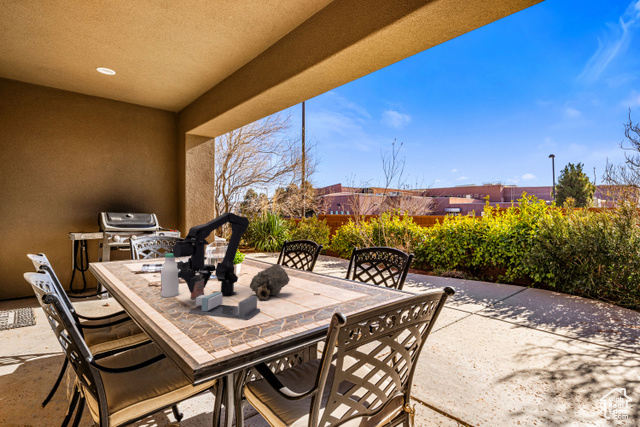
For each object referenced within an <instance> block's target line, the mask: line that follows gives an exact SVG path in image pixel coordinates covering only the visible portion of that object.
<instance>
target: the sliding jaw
mask: <svg viewBox="0 0 640 427" xmlns="http://www.w3.org/2000/svg"><path fill="white" fill-rule="evenodd" d="M195 305H196V306H199V305H202V311H209V310H211V309H213V308H215V307H217V306H219V305H223V295H222V292H221V291H215V292H213V293H211V294H208V295H207V294H204V295H201V296H198V297H196V300H195Z"/></svg>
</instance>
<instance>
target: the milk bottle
mask: <svg viewBox="0 0 640 427" xmlns="http://www.w3.org/2000/svg"><path fill="white" fill-rule="evenodd" d="M162 265H163V266H162V267H161V270H160V272H161V273H160V296H161V297H163V298H172V297H177V296H178V295H179V292H180V291H179V289H180V288H179V287H180V286H179V284H180V283H179V282H180V278H178V272H179V271H180V269H178V268H177V262H176V258H175V257H174V255H173V252H170V253H169V252H168V253H165V254H164V263H163V264H162Z"/></svg>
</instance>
